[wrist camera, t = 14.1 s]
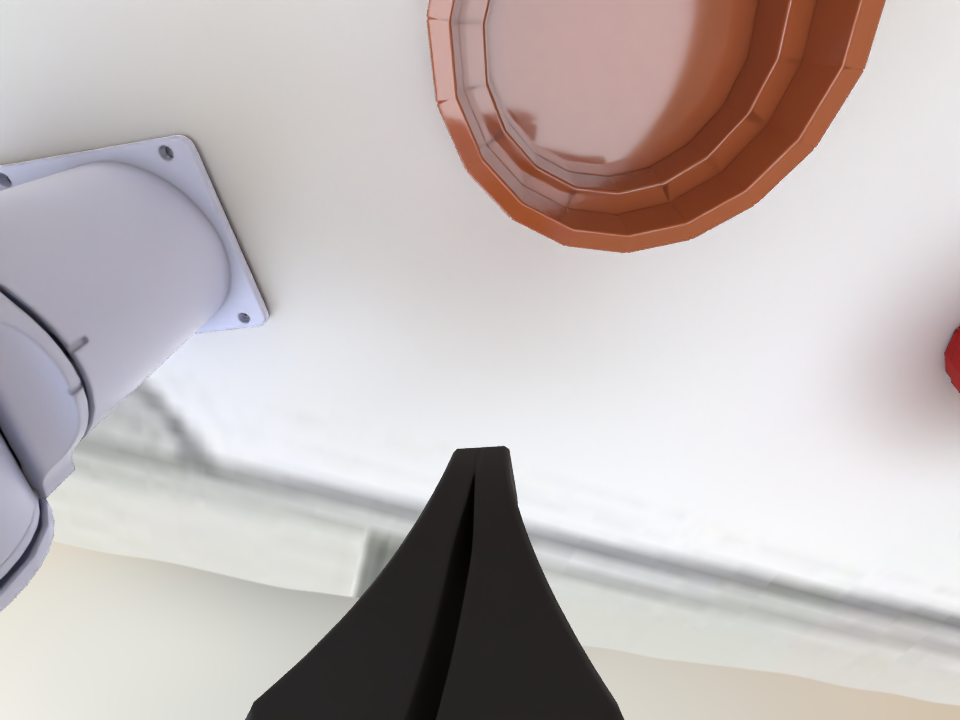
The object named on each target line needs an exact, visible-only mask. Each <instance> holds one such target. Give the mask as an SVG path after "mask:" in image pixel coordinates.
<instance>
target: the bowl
mask: <svg viewBox="0 0 960 720" xmlns="http://www.w3.org/2000/svg"><path fill="white" fill-rule="evenodd" d="M885 1H886V0H429V5H428V10H427V17H428V18H427V27H428V36H429V45H430V54H431V63H432V72H433V81H434V90H435V99H436V102H437V107H438V109H439V111H440V113H441V116H442V118H443V120H444V122H445V125H446V127H447V129H448V131H449V134H450V136H451V138H452V140H453V143H454V145H455V147H456V149H457V152H458V154H459V156H460V158H461V161H462V163H463V165H464V167H465V169H466V170H467V172H468V174H469V175H470V176H471V177H472V178H473V179H474V180H475V181H476V182H477V183H478V184H479V185H480V186H481V187H482V188H483V190H484V191H485V192H486V193H487V194H488V195H489V196H490V197H491V198H492V199H493V200H494V201H495V202H496V203H497V205H498V206H499V207H500V208H501V209H502V210H503V211H504V212H505V213H506V214H507V215H508V216H509V217H511V219H512V220H514V221H516V222H518V223H520V224H522V225H524V226H526V227H528V228H530V229H532V230H534V231H536V232H538V233H540V234H542V235H544V236H546V237H548V238H550V239H552V240H554V241H556V242H558V243H560V244H562V245H564V246H565V245H566V246H569V247H577V248H586V249H594V250H603V251H611V252H620V253H626V252H627V253H630V252H634V251H639V250H644V249H649V248H654V247H658V246H663V245H668V244H673V243H677V242H682V241H687V240H690V239H693V238H695V237H697V236H699V235H701V234H703V233H705V232H706V231H708V230H710V229H712V228H714V227H716V226H718V225H719V224H721V223H723V222H725V221H727V220H729V219H730V218H732V217H734V216H736V215H738V214H740V213H742V212H743V211H745V210H747V209H749V208H751V207H753V206H754V204H756V203H758V202H759V201H760V200H761V199H762V198H763V197H764V196H765V195H766V194H767V193H768V192H769V191H770V190H772V189H773V188H774V187H775V186H776V185H777V184H778V183H779V182H780V181H781V180H782V179H783V178H784V177H785V176H786V175H787V174H788V173H789V172H790V171H792V170H793V169H794V168H795V167H796V166H797V165H798V164H799V163H800V162H801V161H802V160H803V159H804V158H805V157H806V156H807V155H808V154H809V153H810V152H812V151H813V149H814V147H816V146H817V145H818V143H819V142H820V140H821V138H822V137H823V135H824V134H825V132H826V130H827V129H828V127H829V126H830V124H831V122H832V121H833V119H834V118H835V116H836V114H837V113H838V111H839V110H840V108H841V106H842V105H843V103H844V102H845V100H846V98H847V97H848V95H849V94H850V92H851V90H852V89H853V87H854V86H855V84H856V82H857V81H858V79H859V78H860V76H861V74H862V73H863V69H864V68H865V66H866V63H867V60H868V56H869V53H870V50H871V47H872V43H873V40H874V37H875V34H876V30H877V27H878V24H879V20H880V17H881V14H882V11H883V7H884V4H885Z"/></svg>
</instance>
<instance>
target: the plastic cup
mask: <svg viewBox="0 0 960 720" xmlns="http://www.w3.org/2000/svg"><path fill="white" fill-rule="evenodd" d="M945 366H946V372H947V374H948V375H949V376H950V377H951V383H952V384H953V385H954V386H955V387H956V389H957V390H958V391H959V392H960V327H959V328H958V329H957V330H956V331H955V332H954V334H953V336H952V338H951V340H950V343H949V345H948V347H947V349H946V351H945Z"/></svg>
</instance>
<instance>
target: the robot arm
mask: <svg viewBox="0 0 960 720" xmlns="http://www.w3.org/2000/svg"><path fill="white" fill-rule="evenodd" d="M165 146H167V147H169V148H170V149H171V150H172V152H173V158H171V157H170V156H168V154H167V153H166V150H165ZM6 176H7V177H8V178H9V179H10V180H11V182H9V180H8V179H7V178H6ZM242 313H245V314H247V315H248V316H249V317H250V319H247V318H246V317H244V316H243V314H242ZM268 318H269V314H268V310H267V308H266V306H265V304H264V301H263V299H262V297H261V295H260V292H259V290H258V288H257V285H256V283H255V281H254V279H253V276H252V274H251V272H250V270H249V267H248V265H247V263H246V260H245V258H244V256H243V254H242V251H241V249H240V247H239V244H238V242H237V240H236V238H235V235H234V233H233V231H232V229H231V226H230V224H229V222H228V219H227V217H226V215H225V213H224V210H223V208H222V206H221V204H220V201H219V199H218V197H217V194H216V192H215V190H214V188H213V185H212V183H211V181H210V178H209V176H208V174H207V172H206V169H205V167H204V165H203V163H202V160H201V158H200V156H199V153H198V151H197V149H196V147H195V145H194V144H193V142H192V141H191V140H190V139H189V138H188V137H185V136H183V135H173V136H167V137H162V138H156V139H150V140H144V141H139V142H133V143H127V144H121V145H115V146H110V147H104V148H98V149H92V150H87V151H81V152H75V153H69V154H64V155H58V156H52V157H46V158H40V159H35V160H29V161H23V162H17V163H12V164H6V165H0V612H1V611H2V610H3V609H4V608H5V607H6V606H8V605H9V604H10V603H11V602H12V601H13V600H14V599H15V598H16V596H17V595H18V594H19V593H20V592H21V591H22V590H23V589H24V588H25V587H26V586H27V585H28V583H29V582H30V580H31V579H32V578H33V577H34V575H35V574H36V572H37V571H38V570H39V568H40V567H41V565H42V563H43V561H44V559H45V557H46V556H47V554H48V552H49V549H50V546H51V543H52V540H53V536H54V517H53V513H52V509H51V507H50V505H49V504H48V502H47V500H46V498H47V497H48V496H49V495H50V494H51V493H52V492H53V491H54V490H55V489H56V488H57V487H58V486H59V485H60V484H61V483H62V482H63V481H64V480H65V479H66V478H67V477H68V476H69V475H70V474H71V473H72V472H73V471H74V470H75V466H74V463H73V460H72V453H73V450H74V448H75V447H76V445H77V444H78V443H79V441H80V440H82V439H83V438H84V437H85V436H86V435H87V434H88V433H89V432H90V431H91V430H92V429H93V428H95V427H96V426H97V425H98V424H99V423H100V422H101V421H102V420H103V419H104V418H105V417H106V416H107V415H108V414H109V413H110V412H112V411H113V410H114V409H115V408H116V407H117V406H118V405H119V404H120V403H121V402H122V401H123V400H124V399H125V398H126V397H127V396H128V395H130V394H131V393H132V392H133V391H134V390H135V389H136V388H137V387H138V386H139V385H140V384H141V383H142V382H143V381H144V380H145V379H146V378H148V377H149V376H150V375H151V374H152V373H153V372H154V371H155V370H156V369H157V368H158V367H159V366H160V365H161V364H162V363H163V362H164V361H166V360H167V359H168V358H169V357H170V356H171V355H172V354H173V353H174V352H175V351H176V350H177V349H178V348H179V347H180V346H181V345H182V344H184V343H185V342H186V341H187V340H188V339H189V338H190V337H191V336H192V335H193V334H194V333H202V332H210V331H219V330H228V329H237V328H246V327H255V326H261V325H263V324H264V323H265V322H266V321H267V320H268ZM245 720H624V718H623V716H622V714H621V711H620V709H619V707H618V704H617V702H616V701H615V699H614V698H613V696H612V695H611V693H610V692H609V690H608V688H607V687H606V685H605V684H604V682H603V681H602V679H601V677H600V676H599V674H598V673H597V671H596V670H595V668H594V666H593V665H592V663H591V661H590V660H589V658H588V656H587V654H586V653H585V651H584V649H583V648H582V646H581V644H580V643H579V641H578V639H577V637H576V636H575V634H574V632H573V630H572V628H571V626H570V624H569V623H568V621H567V619H566V617H565V615H564V613H563V612H562V610H561V608H560V606H559V604H558V602H557V600H556V598H555V596H554V594H553V592H552V590H551V588H550V586H549V584H548V582H547V580H546V577H545V575H544V573H543V571H542V569H541V566H540V564H539V562H538V560H537V557H536V555H535V552H534V550H533V547H532V545H531V542H530V540H529V537H528V534H527V532H526V529H525V526H524V523H523V520H522V517H521V514H520V511H519V508H518V501H517V493H516V487H515V481H514V475H513V469H512V463H511V457H510V451H509V449H508V448H506V447H505V446H498V447H481V448H465V449H457V450H456V451H455V452H454V453H453V455H452V457H451V459H450V461H449V463H448V466H447V468H446V470H445V472H444V474H443V476H442V478H441V480H440V481H439V483H438V485H437V487H436V489H435V491H434V493H433V494H432V496H431V498H430V499H429V501H428V503H427V505H426V506H425V508H424V510H423V511H422V513H421V515H420V517H419V518H418V520H417V521H416V523H415V524H414V526H413V528H412V529H411V531H410V532H409V534H408V535H407V537H406V538H405V540H404V541H403V543H402V544H401V546H400V547H399V549H398V550H397V552H396V553H395V554H394V556H393V557H392V559H391V560H390V561H389V563H388V564H387V565H386V567H385V568H384V569H383V570H382V572H381V573H380V574H379V576H378V577H377V578H376V580H375V581H374V582H373V583H372V584H371V586H370V587H369V588H368V589H367V590H366V592H365V593H364V594H363V595H362V596H361V598H360V599H359V600H358V601H357V602H356V604H355V605H354V606H353V607H352V608H351V609H350V610H349V611H348V612H347V614H346V615H345V616H344V617H343V618H342V619H341V620H340V621H339V622H338V623H337V624H336V625H335V626H334V627H333V628H332V629H331V631H329V633H328V634H327V635H326V636H325V637H324V638H323V639H322V640H321V641H320V642H319V643H318V644H317V645H316V646H315V647H314V648H313V649H312V650H311V651H310V652H309V653H308V654H307V655H306V656H305V657H304V658H303V659H302V660H300V661H299V662H298V663H297V664H296V665H295V666H294V667H293V668H292V669H291V670H290V671H288V672H287V673H286V674H285V675H284V676H283V677H282V678H281V679H280V680H278V681H277V682H276V683H275V684H274V685H273V686H272V687H271V688H269V689H268V690H267V691H266V692H265V693H264V694H263V695H262V696H260V697H259V698H258V699H257V700H256V701H255V702H254V703H253V705H252V707H251V710H250V712H249V713H248V715H247V717H246V719H245Z"/></svg>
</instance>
